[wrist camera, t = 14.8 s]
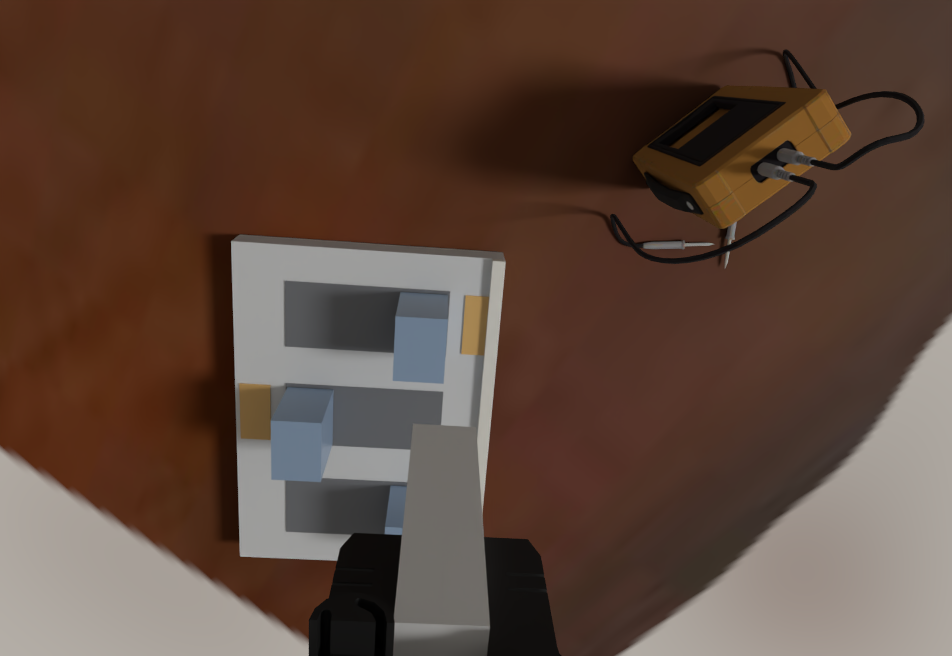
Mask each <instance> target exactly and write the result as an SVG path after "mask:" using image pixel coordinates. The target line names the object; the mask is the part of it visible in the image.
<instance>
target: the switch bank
mask: <svg viewBox="0 0 952 656" xmlns="http://www.w3.org/2000/svg"><path fill="white" fill-rule="evenodd" d="M231 257H232V292H233V327H234V362H235V397H236V433H237V468H238V503H239V538H240V556H241V557H265V558H289V559H312V560H336V561H337V559H338V555H339V550H340V548H341V547H342V545H343V544H344V543H345V542H346V541H347V540H348V539H349V538H350V537H351V535H352V534H353V533H371V534H385V523H386V516H387V509H388V501H389V494H390V487H391V485H392V486H407V480H408V470H409V460H410V450H411V440H412V430H413V424H428V425H446V426H463V427H476V432H477V446H478V461H479V475H480V490H481V504H482V511H483V500H484V490H485V479H486V468H487V457H488V447H489V436H490V425H491V414H492V403H493V393H494V382H495V371H496V360H497V349H498V339H499V328H500V317H501V306H502V296H503V285H504V274H505V263H506V261H505V258H504V255H503V252H491V251H476V250H461V249H446V248H432V247H417V246H402V245H387V244H373V243H358V242H343V241H328V240H314V239H299V238H284V237H269V236H255V235H238V236H237V237H236V238H234V239H233V240H232V241H231ZM401 292H410V293H426V294H441V295H448V328H447V342H446V357H445V371H444V384H439V383H421V382H403V381H393V361H394V339H395V317H396V312H397V307H398V302H399V297H400V293H401ZM287 387H296V388H314V389H332V390H334V394H333V444H332V447H331V451H330V454H329V457H328V460H327V464H326V467H325V470H324V473H323V477H322V480H321V482H309V481H288V480H271V419H272V417H273V415H274V413H275V411H276V409H277V407H278V405H279V403H280V401H281V399H282V397H283V395H284V393H285V391H286V389H287Z"/></svg>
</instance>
